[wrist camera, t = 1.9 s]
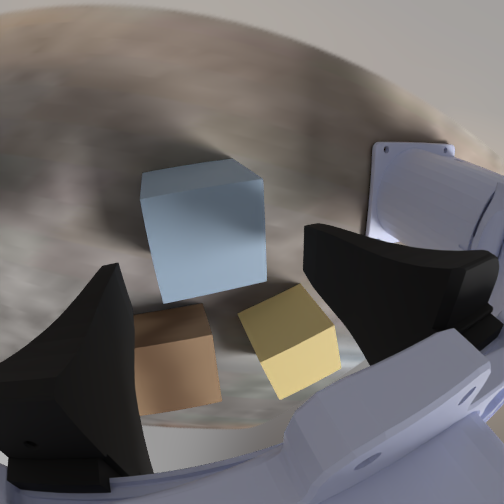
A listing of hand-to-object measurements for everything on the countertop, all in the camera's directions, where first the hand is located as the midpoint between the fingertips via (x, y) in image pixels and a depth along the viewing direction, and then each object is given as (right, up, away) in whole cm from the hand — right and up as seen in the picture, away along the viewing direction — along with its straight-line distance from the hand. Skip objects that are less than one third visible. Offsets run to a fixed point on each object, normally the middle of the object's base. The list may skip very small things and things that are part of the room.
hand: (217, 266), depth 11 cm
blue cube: (-2, +3, +6) cm, 7 cm away
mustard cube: (+3, -5, +12) cm, 13 cm away
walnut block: (-5, -6, +10) cm, 13 cm away
